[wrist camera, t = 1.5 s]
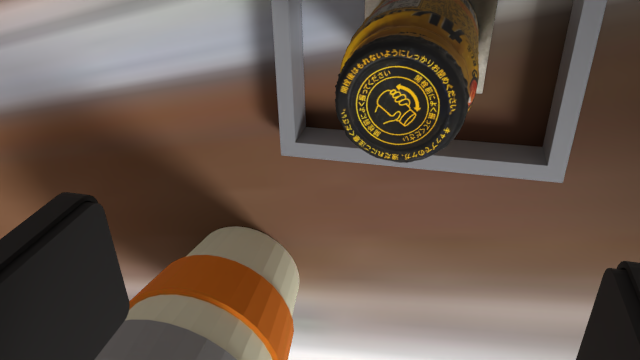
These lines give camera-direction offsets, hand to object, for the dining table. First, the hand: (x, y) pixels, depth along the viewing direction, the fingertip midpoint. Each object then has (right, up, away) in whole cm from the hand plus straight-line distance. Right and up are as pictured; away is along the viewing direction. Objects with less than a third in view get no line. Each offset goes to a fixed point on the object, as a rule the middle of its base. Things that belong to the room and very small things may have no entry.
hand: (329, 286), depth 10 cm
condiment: (+6, +11, +20) cm, 24 cm away
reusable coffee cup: (-6, -5, +33) cm, 34 cm away
